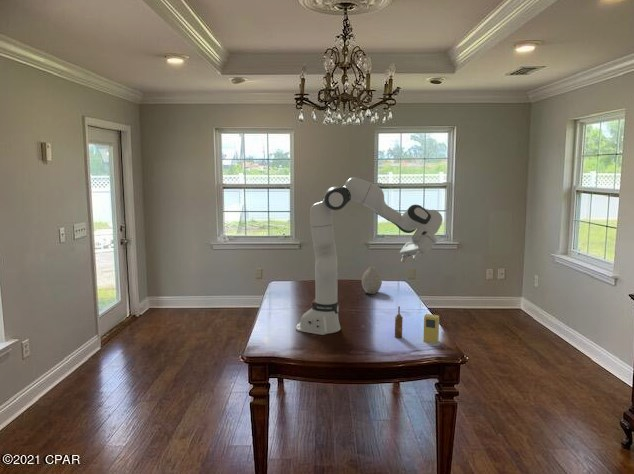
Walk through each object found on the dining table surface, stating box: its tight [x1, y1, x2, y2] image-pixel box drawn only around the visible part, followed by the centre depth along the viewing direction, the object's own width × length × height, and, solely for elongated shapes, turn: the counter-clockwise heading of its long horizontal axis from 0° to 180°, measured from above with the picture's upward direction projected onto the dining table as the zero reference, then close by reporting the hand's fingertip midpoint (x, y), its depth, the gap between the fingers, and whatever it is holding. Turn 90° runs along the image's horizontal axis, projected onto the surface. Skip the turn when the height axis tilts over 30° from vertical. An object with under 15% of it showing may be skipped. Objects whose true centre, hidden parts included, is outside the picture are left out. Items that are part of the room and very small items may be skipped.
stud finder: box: [422, 313, 440, 344], centre depth 220 cm, size 4×6×12 cm
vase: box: [361, 266, 383, 295], centre depth 309 cm, size 13×13×17 cm
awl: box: [394, 306, 404, 339], centre depth 225 cm, size 3×3×15 cm
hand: (407, 260), depth 224 cm, fingers open, 8 cm apart
